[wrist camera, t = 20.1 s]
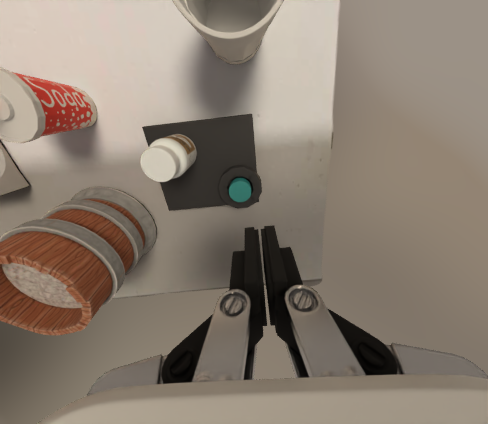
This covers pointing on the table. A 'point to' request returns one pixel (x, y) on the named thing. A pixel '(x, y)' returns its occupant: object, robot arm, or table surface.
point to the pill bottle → (168, 157)
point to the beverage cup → (40, 108)
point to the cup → (230, 24)
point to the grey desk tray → (9, 174)
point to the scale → (212, 162)
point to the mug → (71, 260)
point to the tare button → (240, 190)
